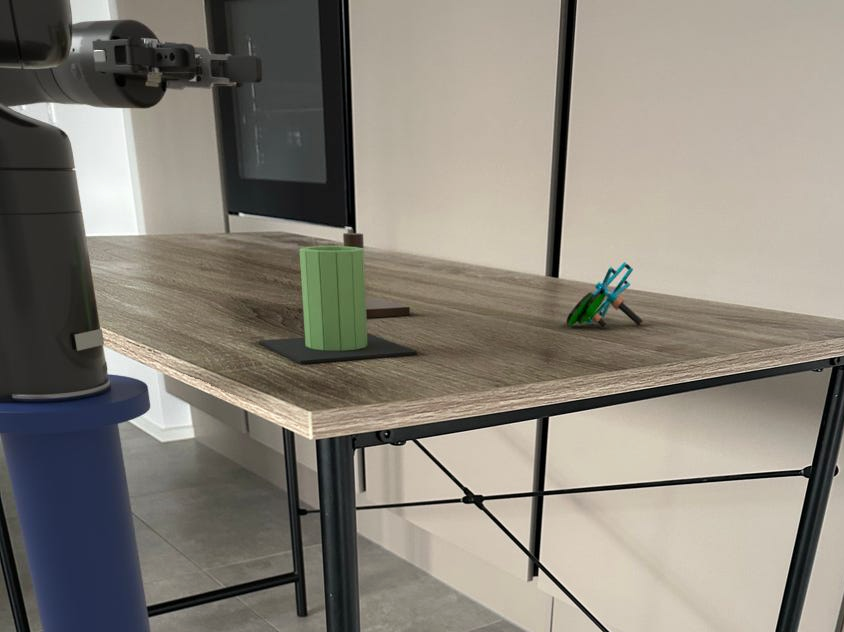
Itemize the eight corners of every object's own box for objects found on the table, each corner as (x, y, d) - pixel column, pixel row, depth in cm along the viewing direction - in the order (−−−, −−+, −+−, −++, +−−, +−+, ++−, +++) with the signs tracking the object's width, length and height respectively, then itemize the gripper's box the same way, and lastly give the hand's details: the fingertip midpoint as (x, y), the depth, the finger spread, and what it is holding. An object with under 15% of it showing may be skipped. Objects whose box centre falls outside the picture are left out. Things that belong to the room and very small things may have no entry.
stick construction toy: (600, 296, 117) (629, 246, 111) (642, 332, 117) (673, 285, 110) (547, 334, 110) (574, 284, 104) (591, 374, 110) (621, 326, 103)
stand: (333, 320, 111) (329, 237, 107) (304, 309, 119) (299, 231, 114) (410, 315, 115) (408, 235, 111) (376, 305, 123) (374, 230, 119)
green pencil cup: (319, 352, 90) (313, 251, 86) (297, 343, 95) (291, 246, 91) (376, 348, 93) (373, 250, 89) (352, 339, 97) (348, 245, 93)
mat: (300, 364, 87) (300, 360, 86) (259, 343, 96) (259, 340, 96) (417, 354, 92) (417, 351, 92) (367, 335, 101) (367, 333, 101)
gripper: (41, 9, 87) (164, 2, 80) (160, 31, 98) (277, 27, 91) (53, 101, 91) (172, 103, 83) (167, 113, 102) (281, 115, 95)
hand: (227, 63), depth 87 cm, fingers open, 8 cm apart
